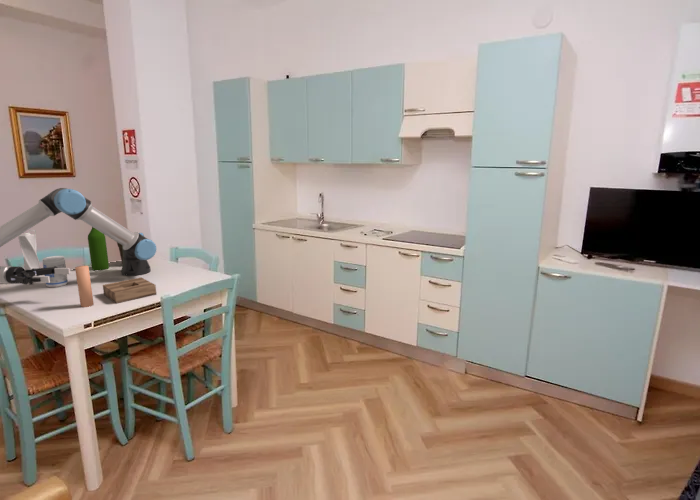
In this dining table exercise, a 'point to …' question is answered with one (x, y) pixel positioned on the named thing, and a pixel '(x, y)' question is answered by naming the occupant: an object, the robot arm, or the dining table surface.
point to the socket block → (129, 290)
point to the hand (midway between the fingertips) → (59, 275)
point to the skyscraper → (29, 250)
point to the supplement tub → (55, 279)
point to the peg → (84, 286)
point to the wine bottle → (98, 250)
